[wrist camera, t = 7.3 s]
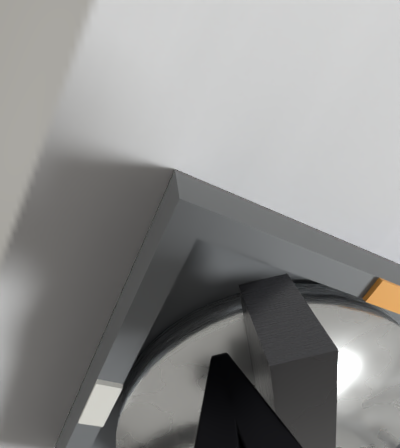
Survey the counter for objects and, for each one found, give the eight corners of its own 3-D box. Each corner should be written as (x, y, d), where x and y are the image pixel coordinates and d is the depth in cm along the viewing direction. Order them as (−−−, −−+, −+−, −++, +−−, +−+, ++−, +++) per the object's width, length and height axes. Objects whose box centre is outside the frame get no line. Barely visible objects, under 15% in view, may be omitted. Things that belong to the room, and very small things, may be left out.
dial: (391, 445, 19) (464, 559, 14) (162, 502, 18) (162, 638, 14) (435, 204, 11) (618, 282, 7) (50, 292, 11) (-28, 437, 6)
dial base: (299, 473, 22) (322, 536, 19) (56, 442, 17) (33, 520, 14) (472, 295, 16) (547, 345, 13) (174, 169, 11) (179, 200, 8)
